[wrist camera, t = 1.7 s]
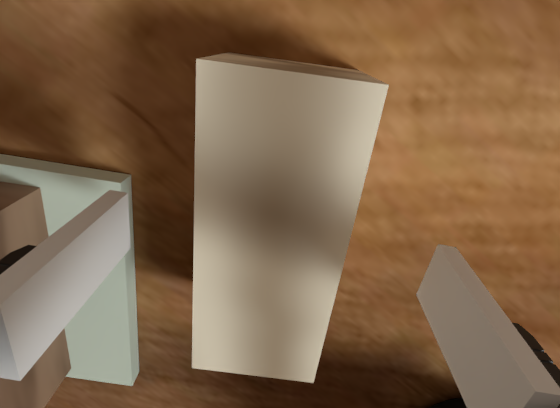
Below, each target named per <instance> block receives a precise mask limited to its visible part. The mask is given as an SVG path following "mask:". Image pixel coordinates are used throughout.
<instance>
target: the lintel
mask: <svg viewBox="0 0 560 408" xmlns="http://www.w3.org/2000/svg"><path fill="white" fill-rule="evenodd" d="M388 86H389V85H388V84H386V83H384V82H382V81H380V80H378V79H376V78H374V77H371V76H369V75H367V74H365V73H363V72H361V71H359V70H354V69H347V68H340V67H332V66H325V65H318V64H311V63H303V62H296V61H289V60H282V59H274V58H267V57H260V56H252V55H245V54H238V53H231V52H229V53H223V54H218V55H213V56H207V57H202V58H197V59H196V104H195V176H194V248H193V320H192V368H195V369H204V370H212V371H220V372H228V373H236V374H244V375H252V376H261V377H269V378H277V379H285V380H293V381H301V382H309V383H314V379H315V375H316V371H317V367H318V364H319V360H320V356H321V352H322V348H323V344H324V340H325V336H326V332H327V328H328V324H329V320H330V316H331V312H332V308H333V304H334V300H335V296H336V292H337V288H338V284H339V280H340V276H341V272H342V268H343V264H344V260H345V257H346V253H347V249H348V245H349V241H350V237H351V233H352V229H353V225H354V221H355V217H356V213H357V209H358V205H359V201H360V197H361V193H362V189H363V185H364V181H365V177H366V173H367V169H368V165H369V161H370V157H371V154H372V150H373V146H374V142H375V138H376V134H377V130H378V126H379V122H380V118H381V114H382V110H383V106H384V102H385V98H386V94H387V90H388Z"/></svg>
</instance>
